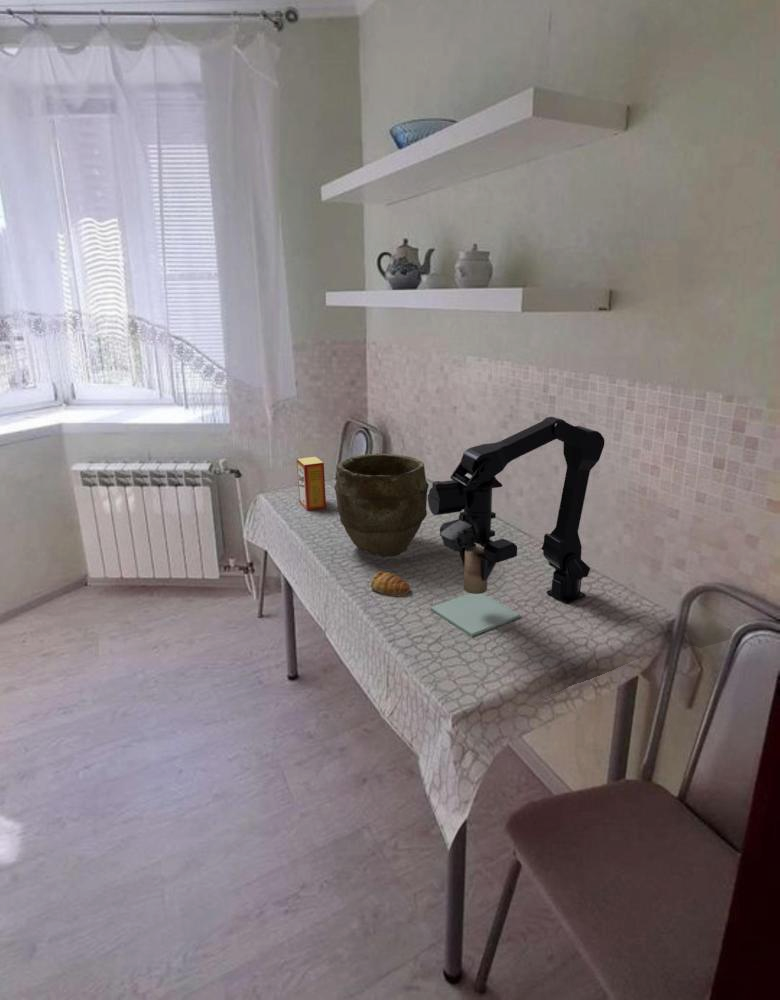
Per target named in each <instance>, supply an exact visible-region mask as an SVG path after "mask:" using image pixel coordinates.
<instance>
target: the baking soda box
mask: <svg viewBox="0 0 780 1000" xmlns="http://www.w3.org/2000/svg"><path fill="white" fill-rule="evenodd" d="M296 473H297V486H298V487H297V488H298V498H299V500H298V501H299V504H300V505H301V506H302V507H303V508H304V509H305V510H306V511H307V512H309V511H316V510H322V509H327V502H326V501H327V500H326V499H327V498H326V480H325V477H326V476H325V463H324V462H323V461H322V460H321V459H319V458H318V457H317V456H315V455H314V456H307V457H300V458H299V457H298V458H296Z"/></svg>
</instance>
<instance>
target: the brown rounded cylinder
mask: <svg viewBox="0 0 780 1000" xmlns="http://www.w3.org/2000/svg"><path fill="white" fill-rule="evenodd" d="M483 550H484V547H482V546H479V545H476V546H472V547H468V548H466V549H465V566H464V565H463V568H464V572H463V573H464V577H463V581H464V582H463V590H464V591H465V592H466V593H467V594H469V593H472V594H481V593H482V594H484V593H486V592H487V591H488V579H487V580H485V581H482V576H481V560H480V559H479V558H478V557H477V554H481V553H483Z"/></svg>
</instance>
